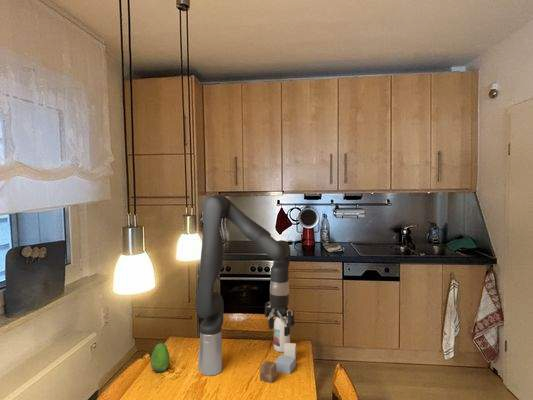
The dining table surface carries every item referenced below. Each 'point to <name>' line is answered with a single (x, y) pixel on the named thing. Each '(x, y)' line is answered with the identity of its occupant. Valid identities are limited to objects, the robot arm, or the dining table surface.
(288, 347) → the beige block
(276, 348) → the milk bottle
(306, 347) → the dining table surface
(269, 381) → the walnut block
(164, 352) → the avocado
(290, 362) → the base block
